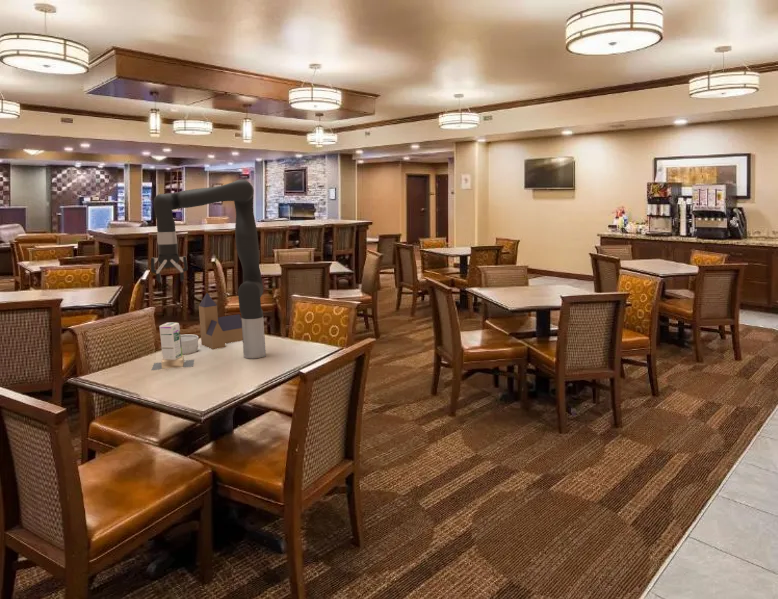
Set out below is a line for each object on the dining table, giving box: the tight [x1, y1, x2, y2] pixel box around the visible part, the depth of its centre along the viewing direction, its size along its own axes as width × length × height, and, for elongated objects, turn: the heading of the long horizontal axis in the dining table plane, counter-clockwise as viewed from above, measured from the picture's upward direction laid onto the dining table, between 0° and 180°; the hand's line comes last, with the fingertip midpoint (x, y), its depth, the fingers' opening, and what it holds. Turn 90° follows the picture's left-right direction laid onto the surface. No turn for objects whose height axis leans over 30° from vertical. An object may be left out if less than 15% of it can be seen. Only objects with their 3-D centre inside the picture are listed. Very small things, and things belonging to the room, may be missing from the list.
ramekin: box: [180, 333, 200, 355], centre depth 266 cm, size 13×13×7 cm
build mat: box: [151, 359, 195, 371], centre depth 244 cm, size 16×11×1 cm
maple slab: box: [161, 354, 185, 370], centre depth 243 cm, size 8×8×3 cm
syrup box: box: [159, 321, 183, 360], centre depth 242 cm, size 6×6×14 cm
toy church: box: [198, 292, 243, 350], centre depth 279 cm, size 12×19×25 cm, turn 130°
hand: (170, 281), depth 247 cm, fingers open, 8 cm apart
